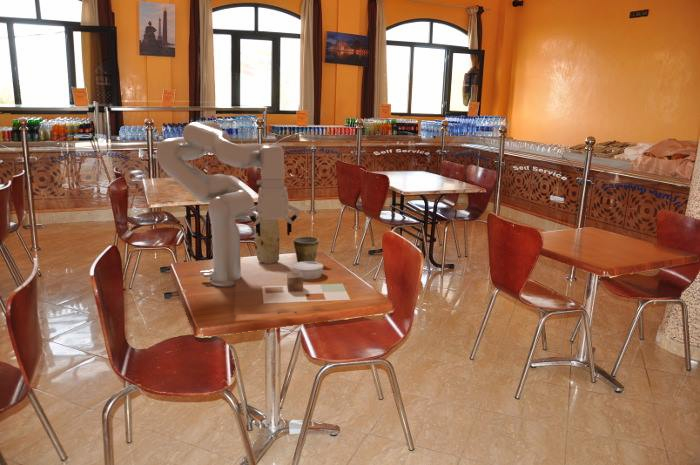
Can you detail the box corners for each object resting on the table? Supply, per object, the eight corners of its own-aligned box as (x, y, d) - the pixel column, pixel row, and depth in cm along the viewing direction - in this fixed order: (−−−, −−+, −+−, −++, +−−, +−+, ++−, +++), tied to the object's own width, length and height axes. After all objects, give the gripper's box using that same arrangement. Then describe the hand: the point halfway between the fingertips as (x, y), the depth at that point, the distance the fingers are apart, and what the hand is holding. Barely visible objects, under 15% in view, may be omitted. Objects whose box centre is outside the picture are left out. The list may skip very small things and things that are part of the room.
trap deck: (263, 307, 180) (263, 303, 179) (262, 290, 195) (262, 286, 194) (350, 304, 184) (350, 299, 184) (342, 287, 200) (342, 283, 199)
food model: (280, 260, 230) (280, 212, 225) (278, 265, 224) (278, 215, 219) (256, 259, 230) (255, 211, 225) (253, 264, 224) (252, 214, 219)
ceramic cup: (321, 266, 223) (321, 242, 220) (296, 268, 220) (296, 243, 218) (313, 257, 235) (313, 234, 233) (289, 258, 232) (289, 235, 230)
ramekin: (325, 275, 213) (325, 261, 212) (320, 284, 202) (320, 270, 201) (295, 273, 214) (295, 260, 213) (289, 283, 203) (289, 269, 202)
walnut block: (288, 291, 190) (288, 277, 188) (287, 287, 194) (287, 273, 193) (303, 291, 191) (303, 277, 189) (301, 286, 195) (301, 272, 194)
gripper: (245, 185, 179) (247, 238, 183) (300, 185, 182) (300, 236, 186) (246, 182, 187) (247, 232, 191) (298, 181, 189) (299, 231, 193)
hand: (273, 234), depth 188 cm, fingers open, 9 cm apart
